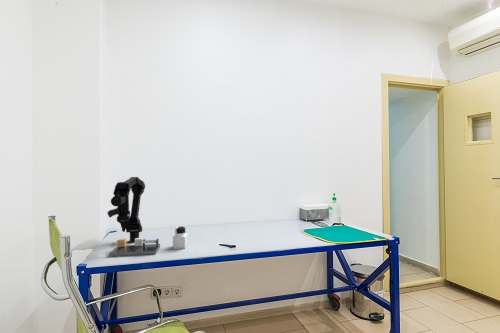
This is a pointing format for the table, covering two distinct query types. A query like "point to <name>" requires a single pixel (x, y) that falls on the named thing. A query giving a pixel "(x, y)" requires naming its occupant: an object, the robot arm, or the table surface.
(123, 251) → the panel
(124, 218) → the robot arm
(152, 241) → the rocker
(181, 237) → the medicine bottle
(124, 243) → the slider orange
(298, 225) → the table surface
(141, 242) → the block
